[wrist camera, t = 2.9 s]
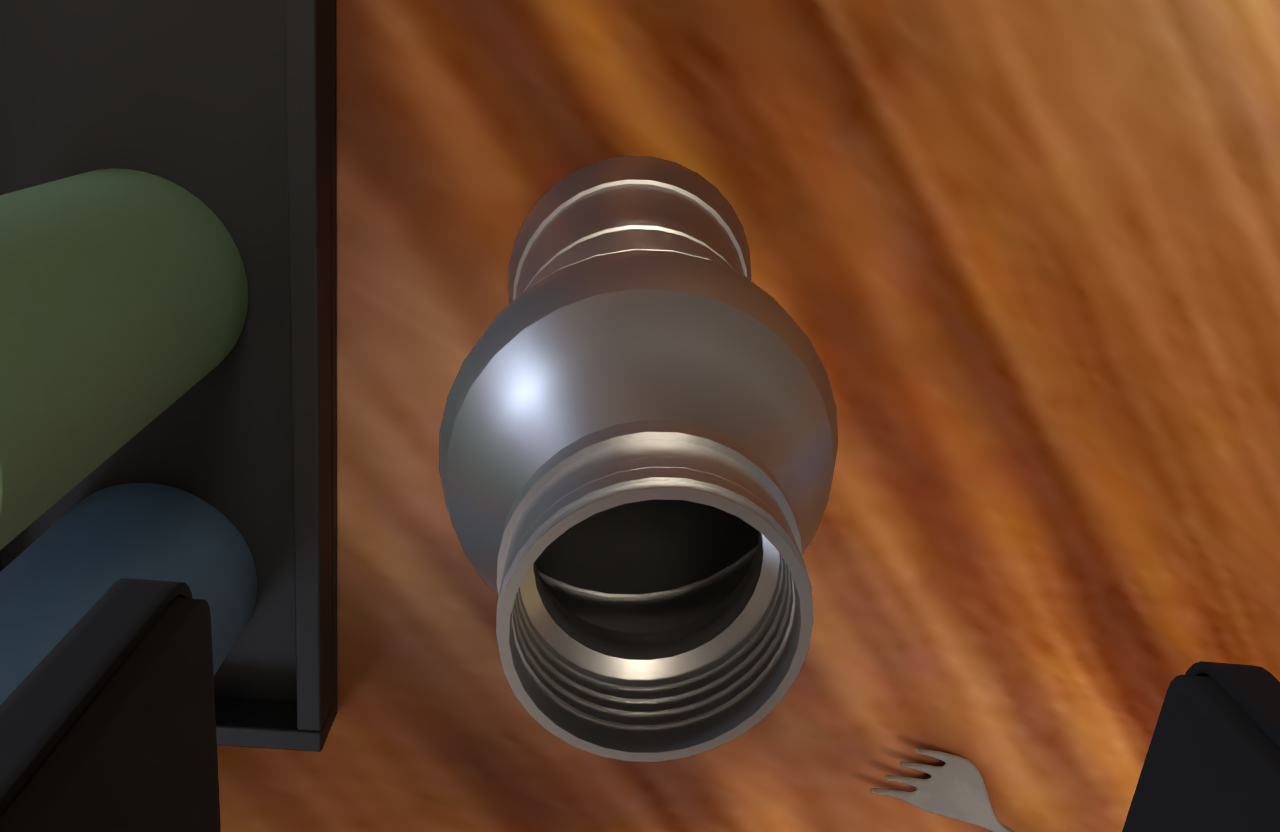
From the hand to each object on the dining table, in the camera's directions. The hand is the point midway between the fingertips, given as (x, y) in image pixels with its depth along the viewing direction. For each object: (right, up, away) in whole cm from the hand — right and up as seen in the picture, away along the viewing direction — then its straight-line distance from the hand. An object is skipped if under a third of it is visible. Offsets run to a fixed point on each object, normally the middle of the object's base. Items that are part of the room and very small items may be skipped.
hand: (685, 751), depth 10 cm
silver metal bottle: (-1, +8, +21) cm, 22 cm away
